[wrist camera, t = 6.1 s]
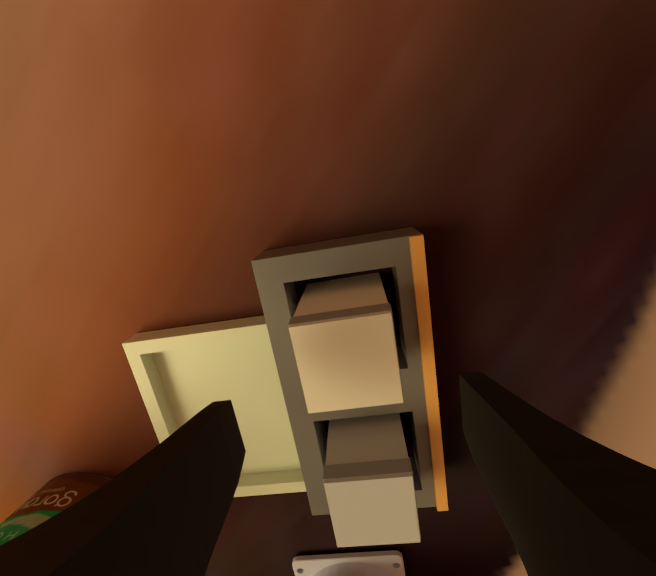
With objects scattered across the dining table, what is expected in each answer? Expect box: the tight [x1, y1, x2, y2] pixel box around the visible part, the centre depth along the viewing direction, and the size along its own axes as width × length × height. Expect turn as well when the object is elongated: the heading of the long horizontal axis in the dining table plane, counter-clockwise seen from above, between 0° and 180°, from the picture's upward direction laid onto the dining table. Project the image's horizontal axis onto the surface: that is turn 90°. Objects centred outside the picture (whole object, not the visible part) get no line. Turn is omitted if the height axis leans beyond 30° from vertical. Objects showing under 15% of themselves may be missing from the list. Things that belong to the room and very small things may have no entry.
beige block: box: [323, 413, 421, 547], centre depth 19 cm, size 4×4×6 cm
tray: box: [122, 315, 306, 497], centre depth 21 cm, size 12×10×1 cm
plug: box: [288, 272, 404, 414], centre depth 17 cm, size 4×4×6 cm
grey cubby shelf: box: [251, 227, 448, 515], centre depth 19 cm, size 16×8×3 cm, turn 10°
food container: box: [0, 472, 112, 545], centre depth 20 cm, size 12×6×10 cm, turn 118°
